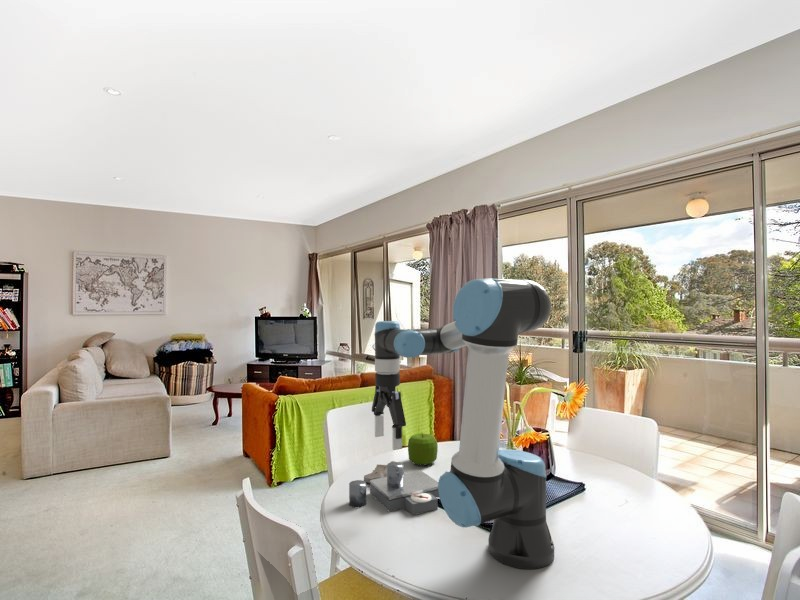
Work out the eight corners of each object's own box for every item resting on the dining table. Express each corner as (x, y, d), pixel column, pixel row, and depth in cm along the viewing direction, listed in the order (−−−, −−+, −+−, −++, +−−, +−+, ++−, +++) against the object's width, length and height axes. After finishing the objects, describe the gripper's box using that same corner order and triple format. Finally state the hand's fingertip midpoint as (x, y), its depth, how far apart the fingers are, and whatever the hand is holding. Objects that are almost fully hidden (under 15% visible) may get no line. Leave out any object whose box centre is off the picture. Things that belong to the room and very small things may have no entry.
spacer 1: (368, 505, 134) (368, 484, 134) (352, 509, 131) (352, 488, 131) (362, 498, 138) (362, 479, 138) (346, 502, 136) (346, 482, 136)
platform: (443, 487, 137) (443, 485, 137) (389, 500, 129) (389, 497, 129) (420, 472, 150) (420, 470, 150) (369, 482, 142) (369, 480, 142)
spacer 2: (406, 486, 137) (406, 466, 137) (391, 489, 135) (391, 468, 135) (398, 480, 141) (398, 461, 142) (384, 483, 139) (384, 463, 139)
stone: (388, 489, 145) (388, 476, 145) (361, 485, 149) (361, 473, 149) (405, 473, 159) (405, 461, 159) (380, 470, 163) (379, 458, 163)
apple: (435, 469, 162) (434, 438, 162) (405, 466, 165) (405, 436, 165) (439, 458, 173) (439, 429, 173) (411, 456, 175) (411, 428, 175)
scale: (453, 506, 133) (453, 493, 133) (397, 519, 124) (397, 506, 124) (420, 482, 150) (420, 471, 150) (369, 493, 142) (369, 481, 142)
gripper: (417, 377, 128) (417, 453, 128) (382, 365, 151) (383, 430, 151) (393, 379, 125) (393, 457, 125) (361, 367, 147) (361, 433, 148)
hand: (387, 442), depth 138 cm, fingers open, 13 cm apart
